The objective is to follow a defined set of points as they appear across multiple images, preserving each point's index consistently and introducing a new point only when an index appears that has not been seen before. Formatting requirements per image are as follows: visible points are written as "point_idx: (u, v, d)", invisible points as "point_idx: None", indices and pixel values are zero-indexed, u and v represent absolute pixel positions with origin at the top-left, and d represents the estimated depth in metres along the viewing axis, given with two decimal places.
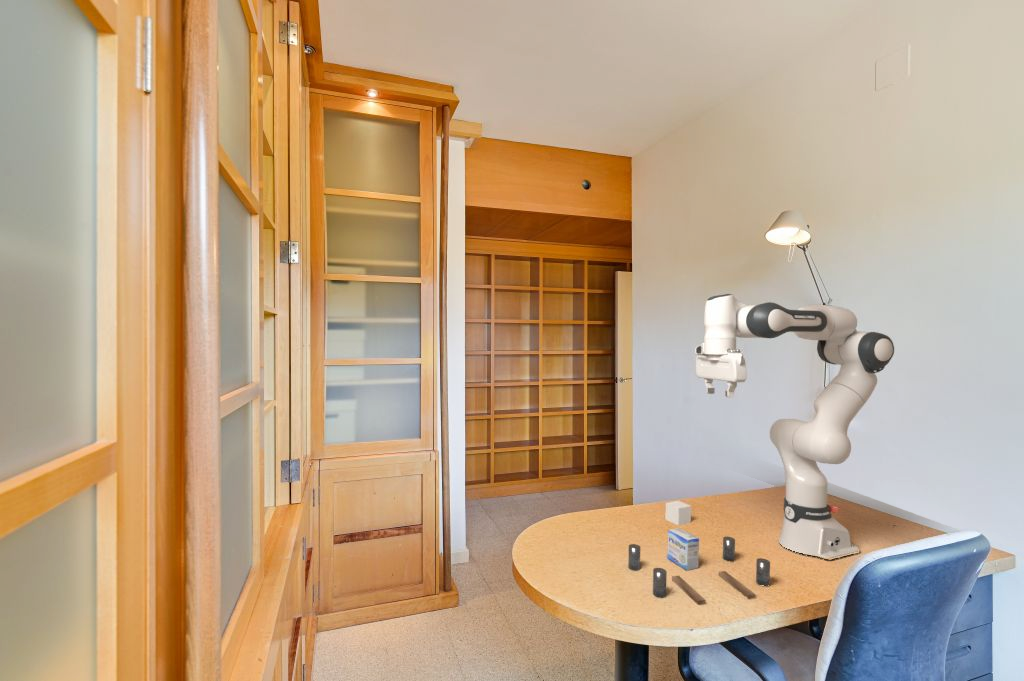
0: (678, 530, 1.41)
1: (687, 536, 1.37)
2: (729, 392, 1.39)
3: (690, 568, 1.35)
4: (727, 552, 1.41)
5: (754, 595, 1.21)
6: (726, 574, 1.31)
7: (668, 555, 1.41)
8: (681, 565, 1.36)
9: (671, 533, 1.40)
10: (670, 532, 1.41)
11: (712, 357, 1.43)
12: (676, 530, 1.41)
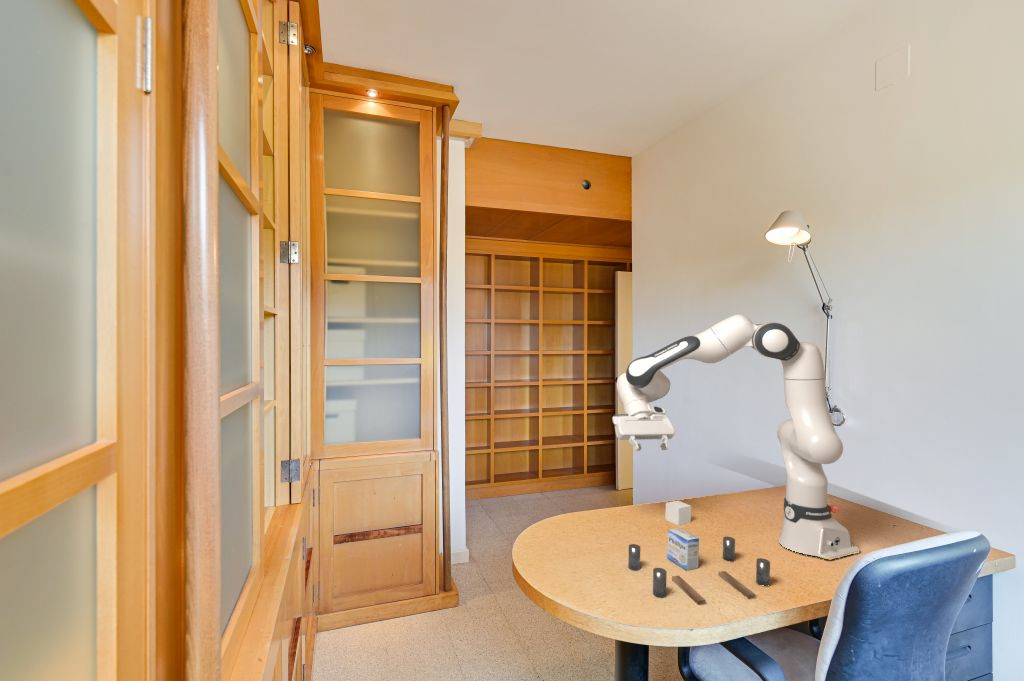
0: (678, 530, 1.41)
1: (687, 536, 1.37)
2: (634, 446, 1.57)
3: (690, 568, 1.35)
4: (727, 552, 1.41)
5: (754, 595, 1.21)
6: (726, 574, 1.31)
7: (668, 555, 1.41)
8: (681, 565, 1.36)
9: (671, 533, 1.40)
10: (670, 532, 1.41)
11: None
12: (676, 530, 1.41)
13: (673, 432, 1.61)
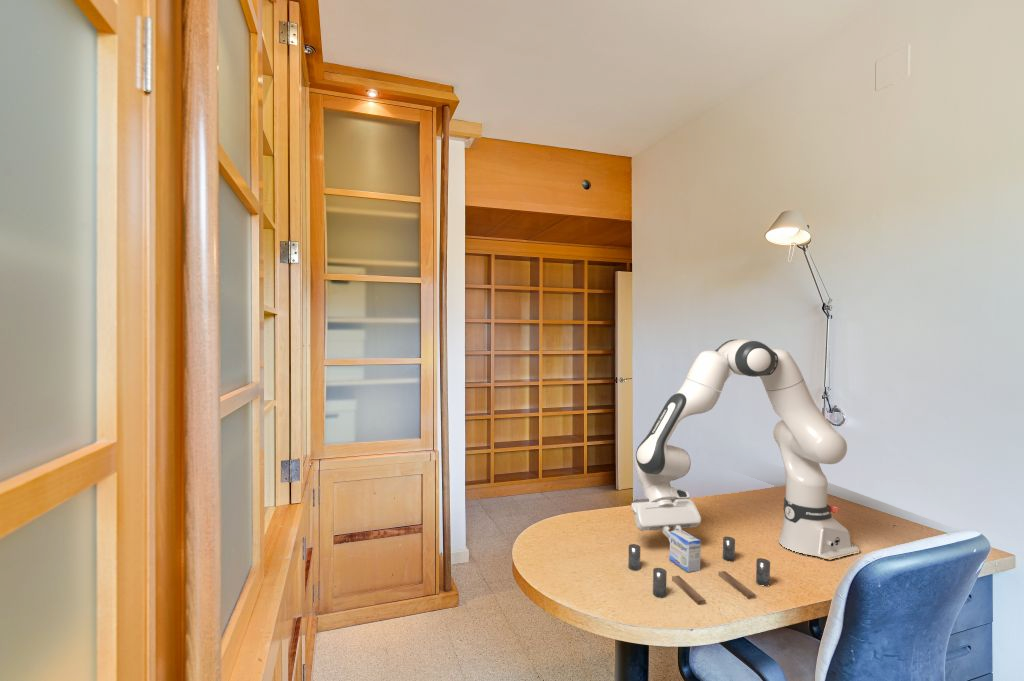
0: (680, 531, 1.40)
1: (689, 537, 1.36)
2: (669, 538, 1.44)
3: (691, 570, 1.34)
4: (727, 552, 1.41)
5: (754, 595, 1.21)
6: (726, 574, 1.31)
7: (670, 556, 1.40)
8: (682, 567, 1.35)
9: (673, 534, 1.39)
10: (672, 533, 1.40)
11: None
12: (678, 531, 1.40)
13: (699, 520, 1.47)
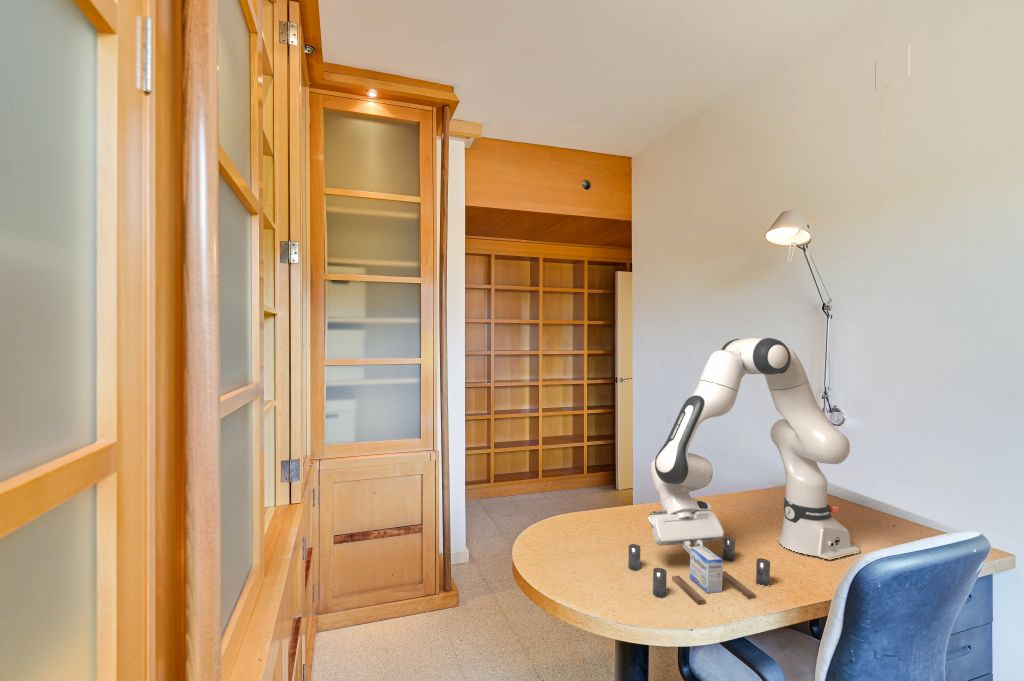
0: (702, 548, 1.29)
1: (710, 555, 1.25)
2: None
3: (712, 591, 1.23)
4: (727, 552, 1.41)
5: (754, 595, 1.21)
6: (726, 574, 1.31)
7: (690, 574, 1.30)
8: (702, 587, 1.25)
9: (693, 551, 1.29)
10: (692, 550, 1.29)
11: None
12: (700, 548, 1.29)
13: (722, 534, 1.36)
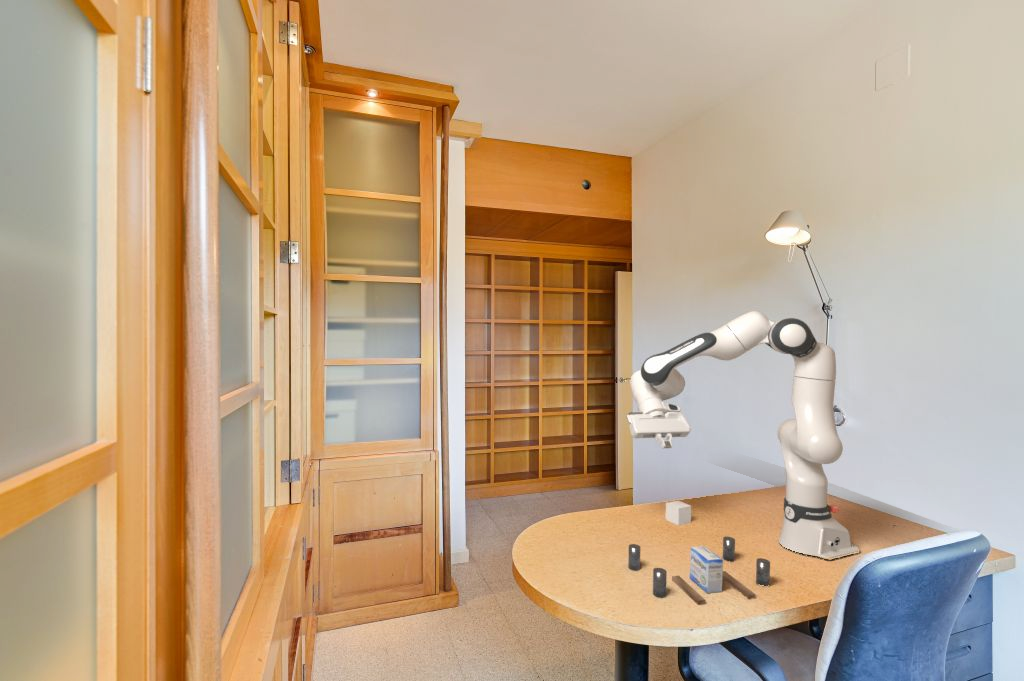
0: (702, 548, 1.29)
1: (710, 555, 1.25)
2: (661, 444, 1.56)
3: (712, 591, 1.23)
4: (727, 552, 1.41)
5: (754, 595, 1.21)
6: (726, 574, 1.31)
7: (690, 574, 1.30)
8: (702, 587, 1.25)
9: (693, 551, 1.29)
10: (692, 550, 1.29)
11: None
12: (699, 548, 1.29)
13: (689, 430, 1.60)
